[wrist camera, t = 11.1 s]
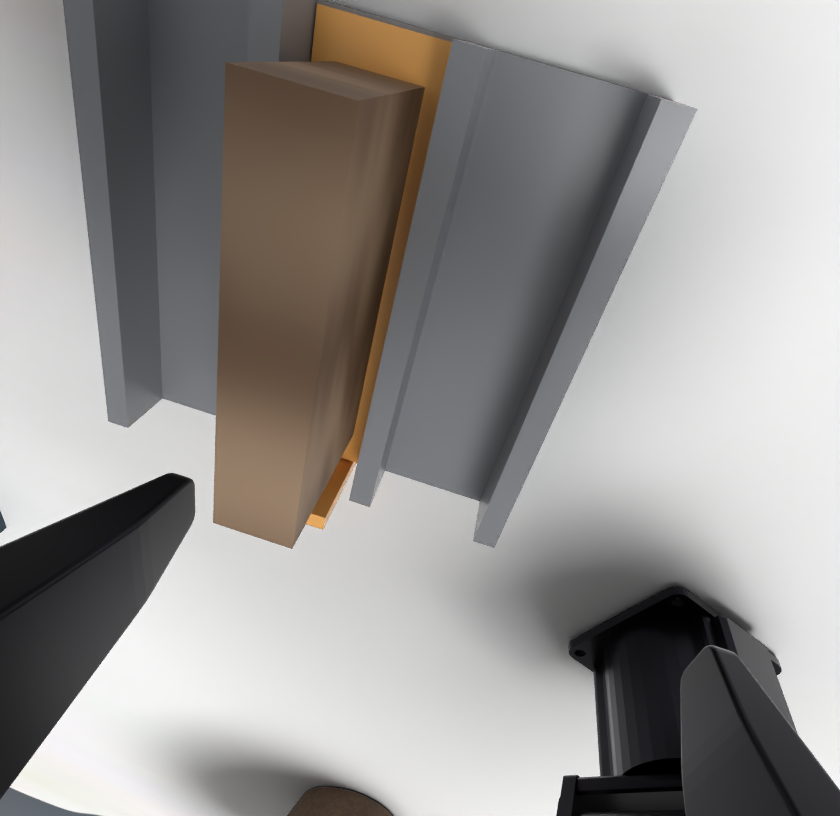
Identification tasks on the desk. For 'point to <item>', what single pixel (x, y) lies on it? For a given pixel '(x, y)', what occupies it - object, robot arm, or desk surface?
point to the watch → (2, 524)
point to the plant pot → (336, 804)
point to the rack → (414, 236)
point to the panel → (300, 276)
